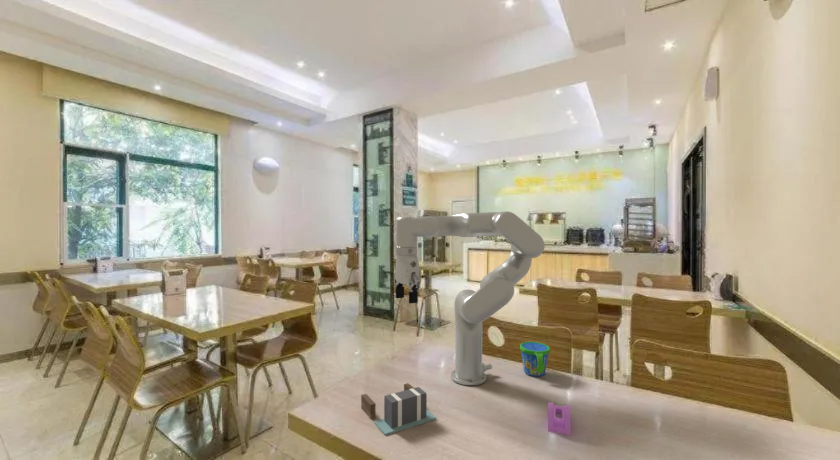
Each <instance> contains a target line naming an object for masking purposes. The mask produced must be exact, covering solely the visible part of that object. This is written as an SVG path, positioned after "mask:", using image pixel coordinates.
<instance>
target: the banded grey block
mask: <svg viewBox="0 0 840 460" xmlns="http://www.w3.org/2000/svg"><path fill="white" fill-rule="evenodd" d="M383 399H384V400H383V401H384V402H383V403H384V405H383V406H384V407H383V408H384V409H383V411H384V412H383V414H384V415H383V417H384V418H383V419H384V421H385V422H386V423H387V424H388V425H389V426H390V428H391V429H392V428H395V427H399V426H402V425H405V424H408V423H411V422H414V421H418V420H421V419H424V418H426V409H427V402H428V401H427V399H428V398H427V392H426V391H425V390H423V389H422V388H421V387H420V386H416V387H414V388H412V389H409V390H405V391H404V390H401V391H398V392H393V393H390V394H386V395H384V397H383Z"/></svg>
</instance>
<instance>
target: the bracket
mask: <svg viewBox="0 0 840 460" xmlns="http://www.w3.org/2000/svg"><path fill="white" fill-rule="evenodd" d="M547 408H548V409H547V410H548V411H547V432H551V433H558V434H561V435H567V436H571V428H572V427H571V425H572V424H571V423H572V422H571V419H572V418H571V415H572V413H571V409H572V408H571V405H569V404H565V405H564V406H562V405H559V404H558V405H557V404H555V403H554V402H550V401H548V407H547ZM556 414H561V415H562V417H557V416H556Z"/></svg>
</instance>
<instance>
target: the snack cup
mask: <svg viewBox="0 0 840 460" xmlns="http://www.w3.org/2000/svg"><path fill="white" fill-rule="evenodd" d="M519 349H520V351H521V361H522V367H523V371H524V373H525V374H526V375H527V376H531V377H536V378H537V377H543V376H545V375H546V371H547V364H548V358H549V354H550V352H551V348H550V346H549V345H548V344H545V343H542V342H536V341H525V342H522V343H520V344H519Z"/></svg>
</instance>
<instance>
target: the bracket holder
mask: <svg viewBox="0 0 840 460" xmlns="http://www.w3.org/2000/svg"><path fill="white" fill-rule="evenodd" d="M412 388H415V387H414V386H412V384H410V383H409V382H407V383H404V384H403V391H405V390H409V389H412ZM360 396H361V398H360V400H361V409H362V411H363V412H364V413H365V414H366V415H367V416H368V418H369V419H370V420H372V419H375V418H376V409H377V408H376V402H375V401H374V400H373V399H372V398H371V397H370V395H368V394H367V393H364V394H361V395H360Z"/></svg>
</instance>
